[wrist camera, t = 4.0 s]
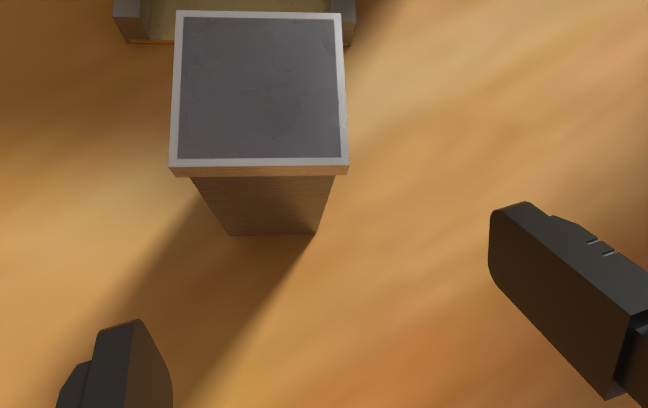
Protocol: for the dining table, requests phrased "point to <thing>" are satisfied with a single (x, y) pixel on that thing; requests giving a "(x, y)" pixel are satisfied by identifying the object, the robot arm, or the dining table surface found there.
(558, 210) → the dining table surface
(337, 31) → the bar
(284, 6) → the keeper
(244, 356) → the dining table surface
